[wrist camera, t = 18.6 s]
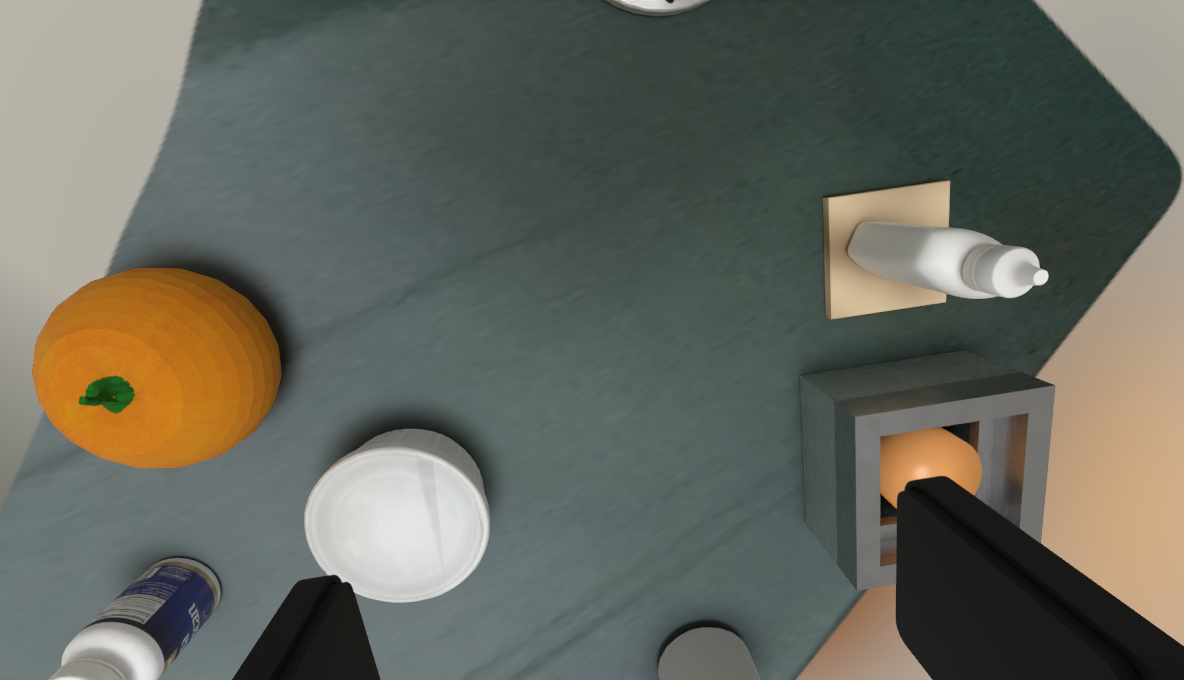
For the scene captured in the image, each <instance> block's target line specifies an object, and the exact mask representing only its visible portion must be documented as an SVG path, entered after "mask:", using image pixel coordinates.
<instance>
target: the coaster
mask: <svg viewBox="0 0 1184 680" xmlns="http://www.w3.org/2000/svg"><path fill="white" fill-rule="evenodd" d="M949 197H950V181H938V182H931V183H924V184H917V185H911V186H904V187H897V188H890V189H883V190H876V191H869V192H862V193H855V194H848V195H841V196H834V197H828V198H823V231H824V271H825V311H826V317H827V318H829V319H837V318H843V317H850V316H856V315H863V314H870V313H876V312H883V311H889V310H896V309H903V308H909V307H916V306H923V305H929V304H936V303H942V302H946V294H945V293H941V292H937V291H933V290H929V289H925V288H922V287H918V286H914V285H910V284H906V283H902V282H898V281H894V280H891V279H887V278H883V277H880V276H877V275H874V274H872V273H870V272H868V271H866V270H864V269H863V268H861V267H860V266H859V265H857V264H856V263H855V262H854V261H853V260H852V259H851V258H850V257H849V255H848V252H847V251H848V246H849V244H850V242H851V239H852V237H853V235H854V232H855V230H856V228H857V227H858V226H859V224H862V223H864V222H871V221H882V222H895V223H906V224H917V225H928V226H939V227H948V226H949Z"/></svg>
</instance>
